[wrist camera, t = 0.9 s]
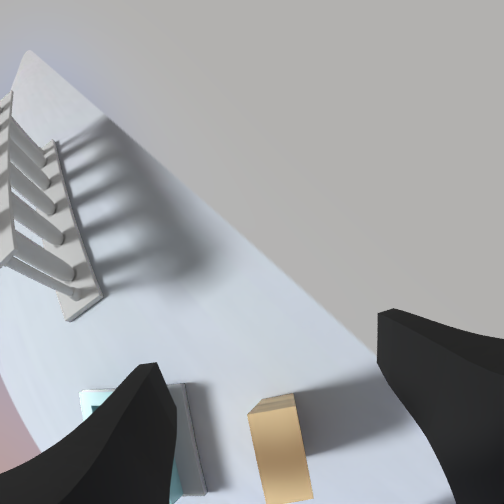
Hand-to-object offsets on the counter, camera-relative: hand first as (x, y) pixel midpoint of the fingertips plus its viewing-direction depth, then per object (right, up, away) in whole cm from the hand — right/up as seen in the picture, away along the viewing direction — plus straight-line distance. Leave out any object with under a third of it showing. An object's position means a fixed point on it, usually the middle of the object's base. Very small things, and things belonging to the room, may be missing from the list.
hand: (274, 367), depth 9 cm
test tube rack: (-22, +8, +20) cm, 31 cm away
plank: (+2, -9, +10) cm, 13 cm away
